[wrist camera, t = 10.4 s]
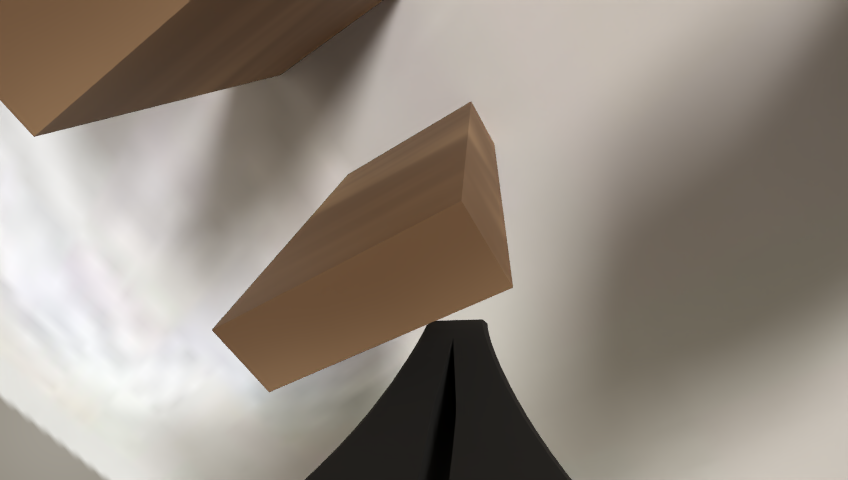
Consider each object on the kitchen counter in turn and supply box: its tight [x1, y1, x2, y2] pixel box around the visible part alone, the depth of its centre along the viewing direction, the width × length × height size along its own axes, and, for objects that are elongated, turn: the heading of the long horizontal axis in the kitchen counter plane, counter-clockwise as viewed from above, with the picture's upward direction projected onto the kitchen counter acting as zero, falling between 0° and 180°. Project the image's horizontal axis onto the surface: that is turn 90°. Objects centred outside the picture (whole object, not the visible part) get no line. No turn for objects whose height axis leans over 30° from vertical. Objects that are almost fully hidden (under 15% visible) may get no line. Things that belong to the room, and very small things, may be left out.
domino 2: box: [212, 102, 513, 392], centre depth 11 cm, size 2×5×9 cm, turn 121°
